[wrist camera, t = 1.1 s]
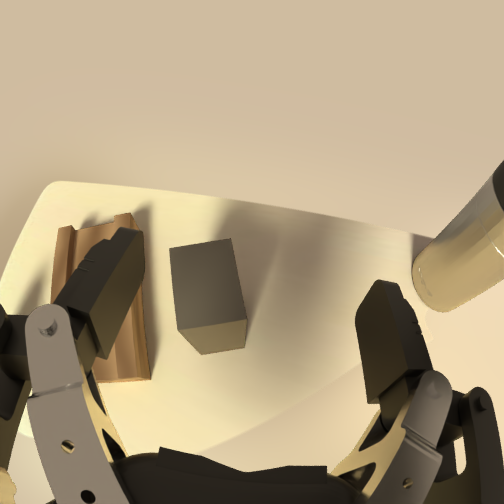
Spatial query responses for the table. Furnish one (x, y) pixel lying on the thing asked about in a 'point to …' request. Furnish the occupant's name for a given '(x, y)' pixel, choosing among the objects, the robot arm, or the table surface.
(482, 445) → the robot arm
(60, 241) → the wooden channel tray
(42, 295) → the table surface
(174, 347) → the table surface
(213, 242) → the tall taupe pillar block
